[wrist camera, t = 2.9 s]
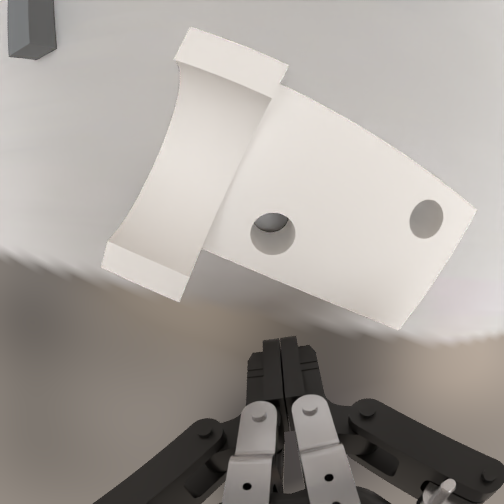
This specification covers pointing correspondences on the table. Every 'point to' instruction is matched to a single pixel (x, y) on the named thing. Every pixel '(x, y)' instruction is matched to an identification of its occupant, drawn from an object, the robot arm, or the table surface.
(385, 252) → the bracket
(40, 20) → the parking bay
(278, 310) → the table surface
